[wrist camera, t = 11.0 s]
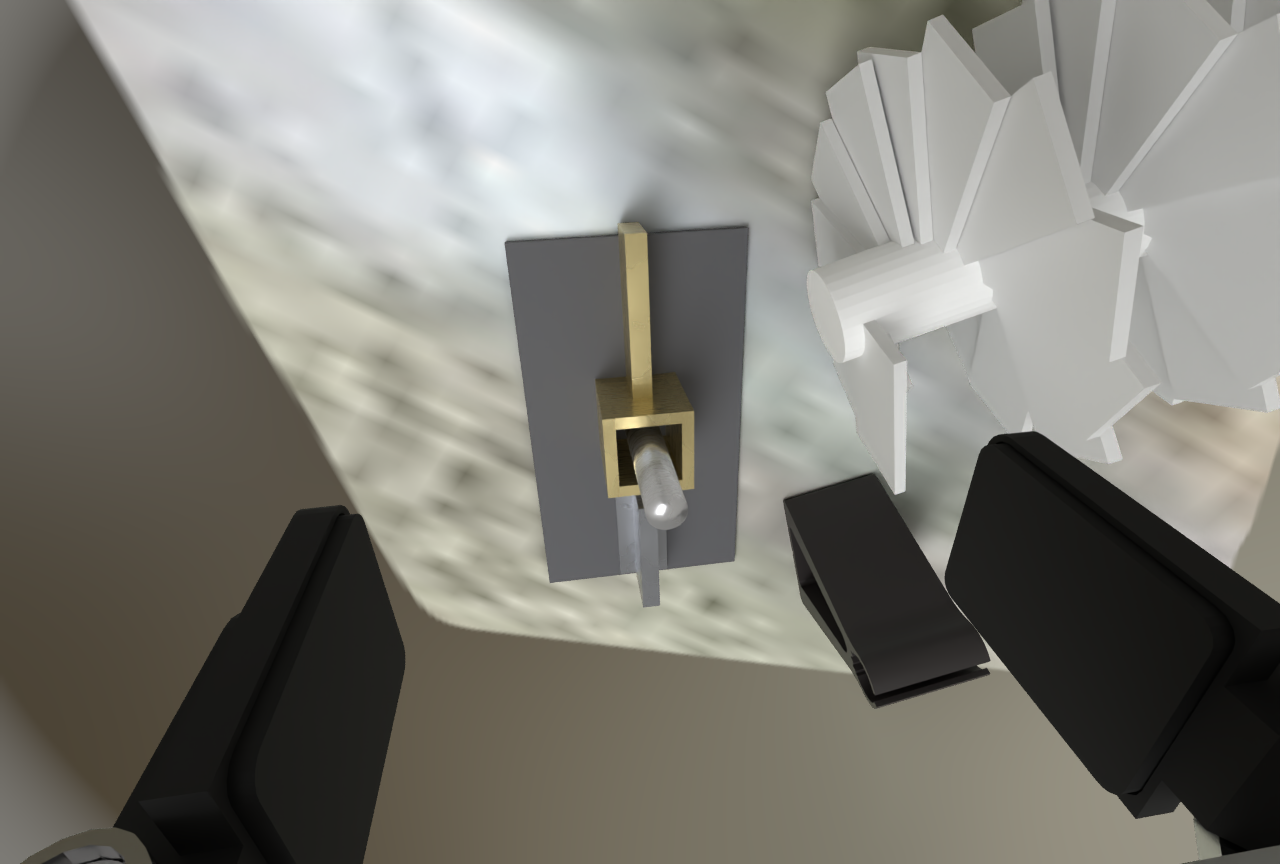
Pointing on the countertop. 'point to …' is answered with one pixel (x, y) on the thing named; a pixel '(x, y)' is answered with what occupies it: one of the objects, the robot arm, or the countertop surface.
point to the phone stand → (878, 594)
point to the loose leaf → (640, 382)
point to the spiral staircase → (1057, 216)
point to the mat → (594, 349)
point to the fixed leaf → (649, 511)
